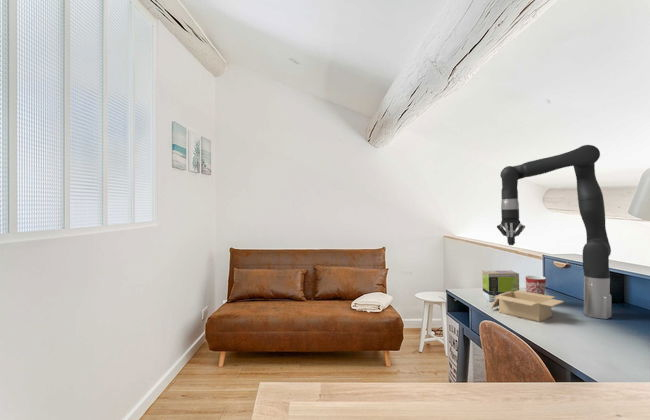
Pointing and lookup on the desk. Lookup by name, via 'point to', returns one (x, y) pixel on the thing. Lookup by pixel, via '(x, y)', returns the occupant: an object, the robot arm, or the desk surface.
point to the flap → (497, 301)
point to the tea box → (499, 283)
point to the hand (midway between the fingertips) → (511, 245)
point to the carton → (527, 305)
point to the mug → (535, 284)
